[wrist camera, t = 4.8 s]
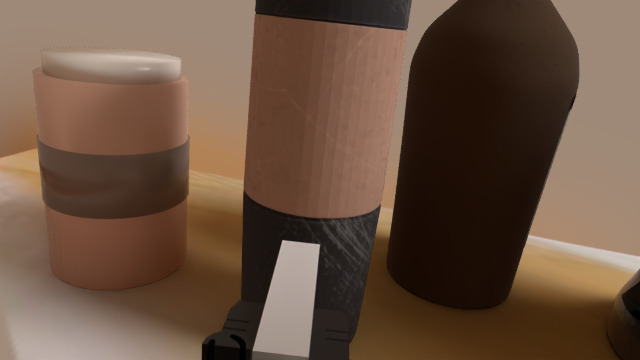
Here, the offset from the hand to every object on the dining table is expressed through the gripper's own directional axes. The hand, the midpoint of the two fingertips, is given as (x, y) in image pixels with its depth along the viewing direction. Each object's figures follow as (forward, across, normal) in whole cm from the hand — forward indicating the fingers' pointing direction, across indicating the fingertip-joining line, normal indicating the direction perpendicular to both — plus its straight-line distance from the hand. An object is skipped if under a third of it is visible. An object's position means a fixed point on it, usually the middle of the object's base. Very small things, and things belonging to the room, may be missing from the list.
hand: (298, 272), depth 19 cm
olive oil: (+16, +11, -8) cm, 21 cm away
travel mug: (+8, 0, -8) cm, 11 cm away
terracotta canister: (+13, -13, -8) cm, 20 cm away
